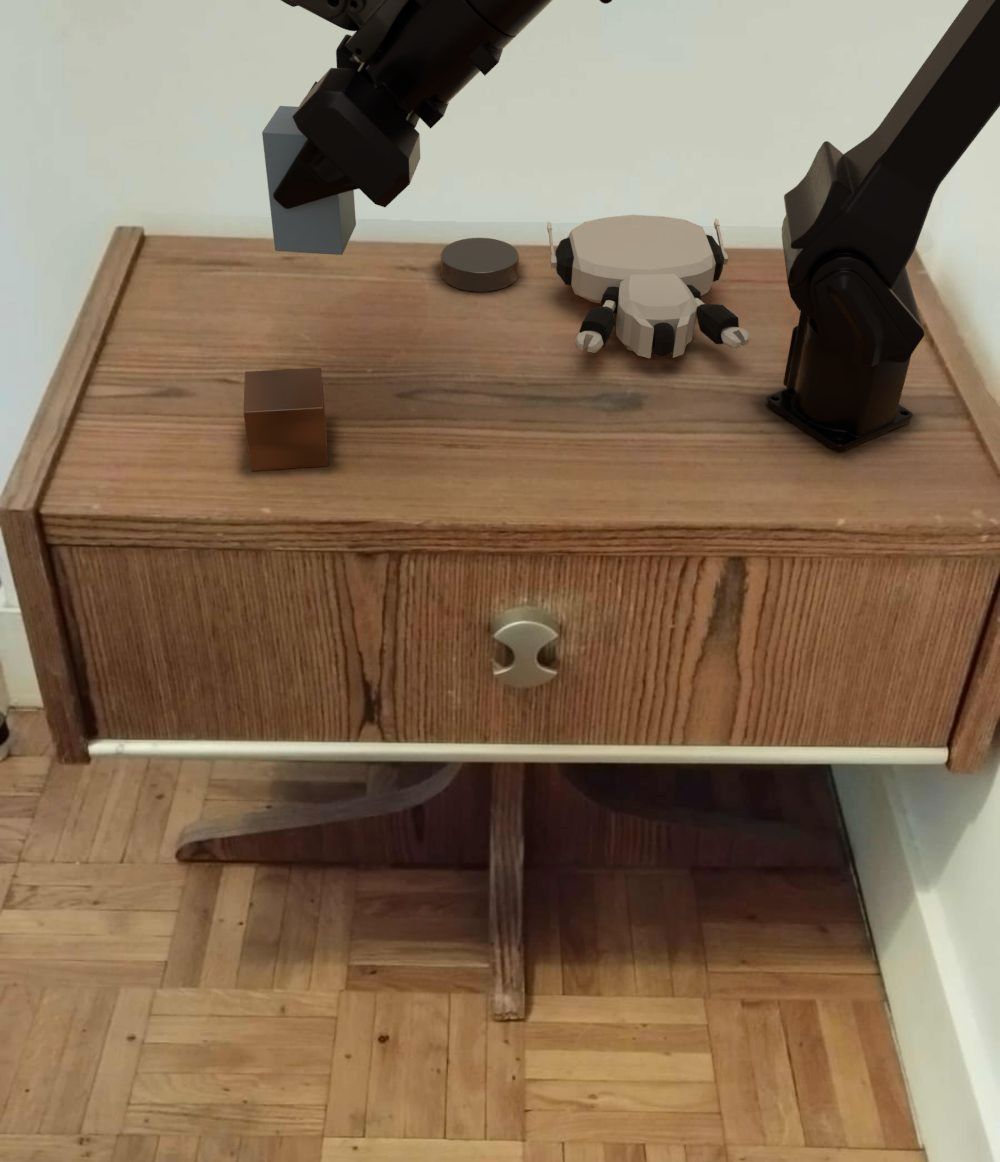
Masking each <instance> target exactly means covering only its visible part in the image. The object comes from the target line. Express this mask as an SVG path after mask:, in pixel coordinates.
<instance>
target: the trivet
mask: <svg viewBox="0 0 1000 1162" xmlns="http://www.w3.org/2000/svg"><path fill="white" fill-rule="evenodd" d="M519 265H520V254H519V251H518V249H517V248H516V247H514V246H513V245H511V244H510V243H508V242H506V241H503V240H500V239H496V238H488V237H469V238H461V239H459V240H456V241H452V242H451V243H449V244H447V245H445V247H444V248H442V250H441V253H440V274H441V275H440V276H441V278H442V280H443V281H444V282H445V283H446V284H448V285H449V286H451V287H453V288H455V289H459V290H463V291H467V292H476V293H478V292H481V293H482V292H492V291H493V292H494V291H498V290H502V289H505V288H507V287H509V286H511V285H512V284H514V283H515V282H516V281H517V279H518V278H519V270H520V269H519V268H520V266H519Z"/></svg>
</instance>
